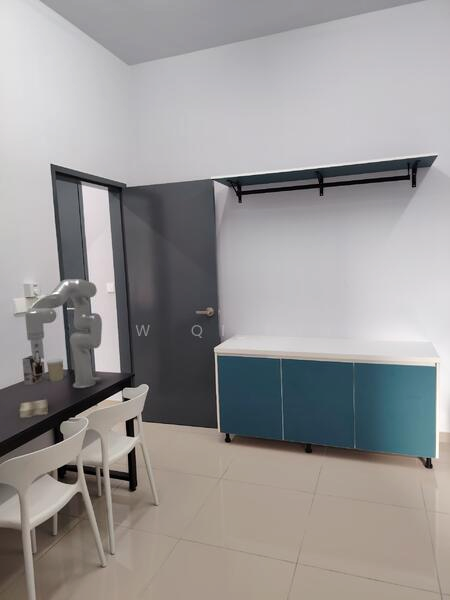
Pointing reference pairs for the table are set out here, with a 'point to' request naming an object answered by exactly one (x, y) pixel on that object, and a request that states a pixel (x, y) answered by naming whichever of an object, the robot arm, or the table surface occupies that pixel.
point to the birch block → (33, 408)
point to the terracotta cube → (42, 368)
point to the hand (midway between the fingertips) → (39, 371)
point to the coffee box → (30, 372)
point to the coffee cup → (55, 369)
